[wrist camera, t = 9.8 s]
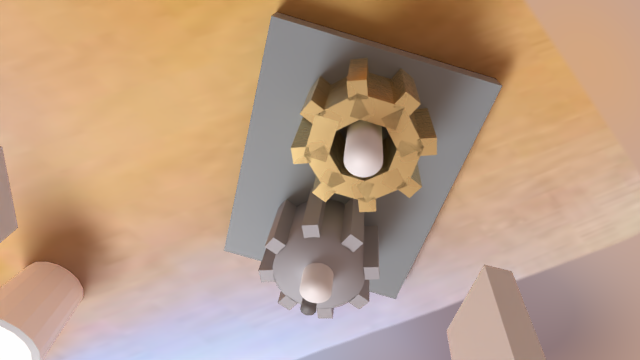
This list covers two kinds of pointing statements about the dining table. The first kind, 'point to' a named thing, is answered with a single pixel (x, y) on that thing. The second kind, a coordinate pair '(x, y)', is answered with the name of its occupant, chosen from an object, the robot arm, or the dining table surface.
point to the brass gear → (372, 106)
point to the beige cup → (36, 309)
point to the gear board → (284, 119)
